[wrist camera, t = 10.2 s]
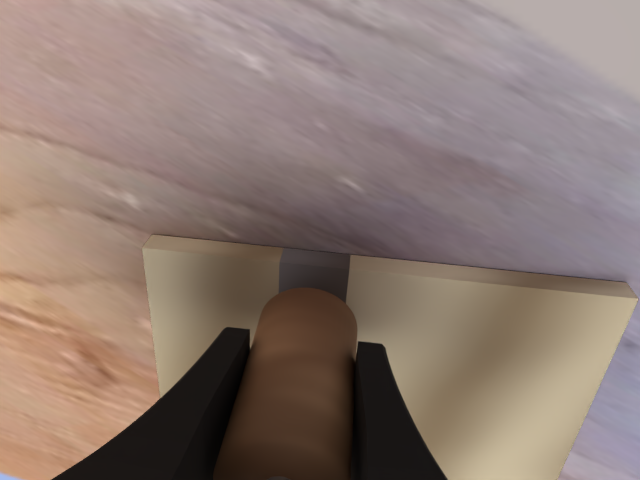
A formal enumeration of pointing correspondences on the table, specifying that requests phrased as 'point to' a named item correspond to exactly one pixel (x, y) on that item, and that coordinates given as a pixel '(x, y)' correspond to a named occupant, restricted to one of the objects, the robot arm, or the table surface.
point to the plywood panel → (418, 340)
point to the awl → (295, 393)
